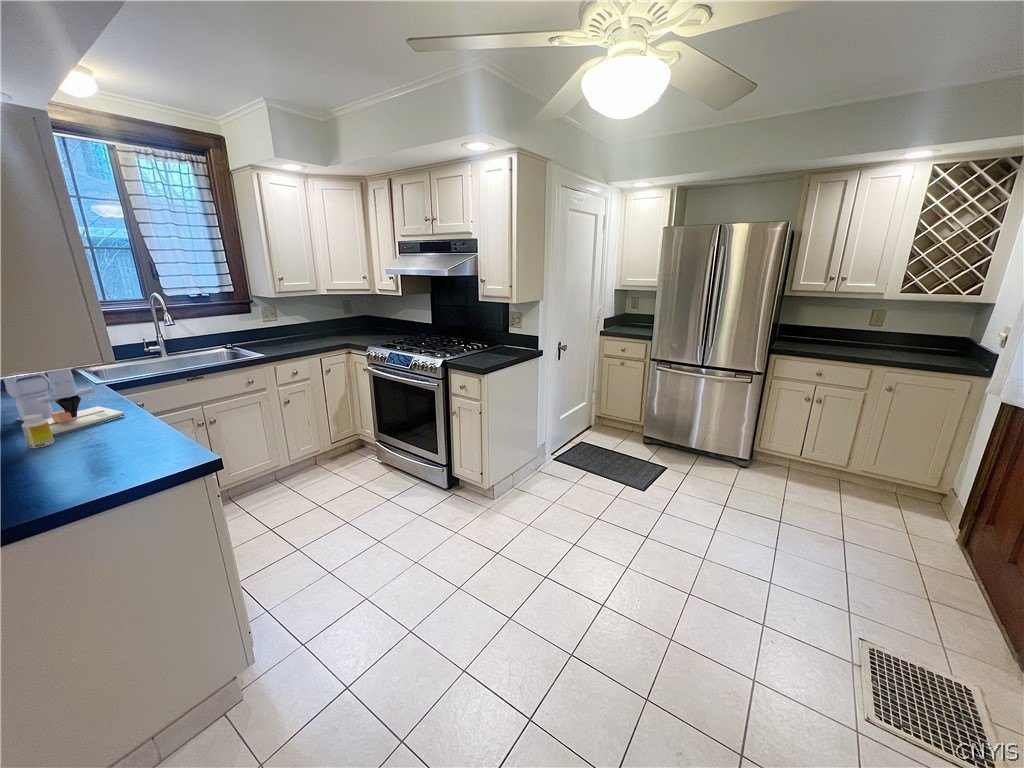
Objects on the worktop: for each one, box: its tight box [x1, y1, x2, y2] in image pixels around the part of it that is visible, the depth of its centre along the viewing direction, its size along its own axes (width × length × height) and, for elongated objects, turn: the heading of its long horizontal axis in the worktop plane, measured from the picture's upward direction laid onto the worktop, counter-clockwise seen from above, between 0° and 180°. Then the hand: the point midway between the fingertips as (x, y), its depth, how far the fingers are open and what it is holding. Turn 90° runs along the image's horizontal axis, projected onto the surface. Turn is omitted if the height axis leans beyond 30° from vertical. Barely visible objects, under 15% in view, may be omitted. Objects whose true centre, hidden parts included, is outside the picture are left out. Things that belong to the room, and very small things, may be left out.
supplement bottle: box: [21, 414, 55, 449], centre depth 130 cm, size 6×6×10 cm
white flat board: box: [45, 405, 126, 437], centre depth 149 cm, size 16×20×2 cm
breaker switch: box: [51, 410, 72, 423], centre depth 145 cm, size 5×3×4 cm, turn 70°
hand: (73, 416), depth 147 cm, fingers closed
